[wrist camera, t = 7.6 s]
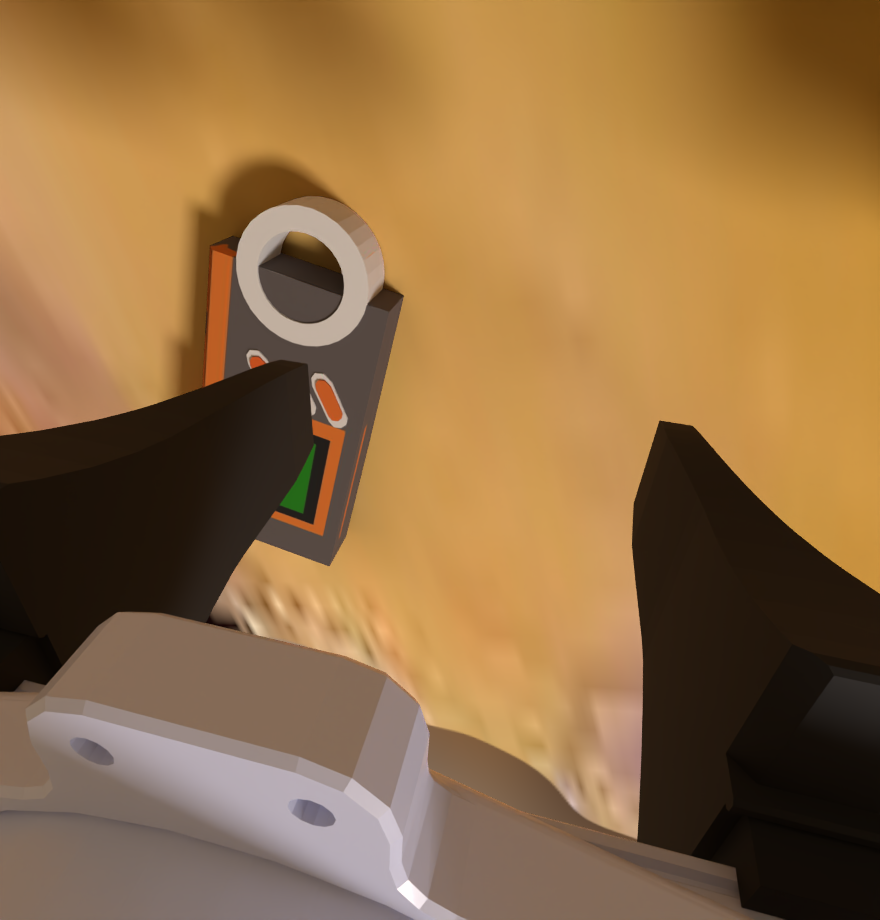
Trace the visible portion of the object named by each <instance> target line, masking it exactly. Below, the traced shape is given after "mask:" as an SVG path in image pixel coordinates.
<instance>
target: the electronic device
mask: <svg viewBox="0 0 880 920" xmlns="http://www.w3.org/2000/svg"><path fill="white" fill-rule="evenodd" d="M290 231H298V232H302V233H307V234H309V235H311V236H313V237H315V238H317V239H318V240H320V241H321V242H323V243H324V244H325V245H326V246H327V247H328V248H329V249H330V250H331V252H332V253H333V254H334V256H335V257H336V259H337V261H338V263H339V265H340V267H341V270H342V274H340V273H337V272H334V271H332V270H329V269H326V268H323V267H320V266H317V265H314V264H311V263H309V262H306V261H303V260H300V259H297V258H294V257H291V256H289V255H286V254H283V253H281V249H282V244H283V242H284V240H285V238H286V236H287V235H288V233H289V232H290ZM233 257H234V258H233ZM284 275H285V276H284ZM384 275H385V274H384V261H383V257H382V253H381V249H380V247H379V244H378V242H377V240H376V238H375V235H374V234H373V232H372V231H371V229H370V228H369V227H368V225H367V224H366V222H365V221H364V220H363V219H362V218H361V217H360V216H359V215H358V214H357V213H356V212H354V211H353V210H351V209H350V208H349V207H347V206H346V205H344V204H342V203H340V202H338V201H335V200H333V199H330V198H325V197H321V196H305V197H301V198H296V199H293V200H291V201H288V202H285V203H283V204H280V205H278V206H275V207H272V208H270V209H268V210H266V211H264V212H262V213H260V214H259V215H258V216H257V217H256V218H254V219H253V220H252V221H251V222H250V223H249V225H248V226H247V228H246V229H245V230H244V232H243V234H242V237H241V239H240V238H237V237H234V236H232V237H229V238H227V239H225V240H222V241H220V242H217V243H215V244H213V245H210V257H209V275H208V294H207V312H206V330H205V349H204V367H203V386H202V388H203V387H205V386H208V385H211V384H213V383H216V382H218V381H221V380H223V379H226V378H229V377H231V376H234V375H236V374H239V373H241V372H244V371H247V370H249V369H252V368H255V367H257V366H260V365H263V364H266V363H269V362H273V361H277V360H287V361H293V362H299V363H305V364H308V373H309V386H310V400H311V413H312V426H313V440H314V446H313V448H312V450H311V452H310V454H309V456H308V459H307V461H306V463H305V465H304V467H303V469H302V471H301V473H300V475H299V476H298V478H297V480H296V482H295V483H294V485H293V486H292V488H291V489H290V491H289V492H288V494H287V495H286V496H285V498H284V499H283V501H282V502H281V504H280V505H279V506H278V508H277V509H276V511H275V512H274V513H273V515H272V516H271V518H270V519H269V520H268V522H267V523H266V525H265V526H264V527H263V529H262V530H261V532H260V533H259V534H258V536H257V537H256V540H259V541H262V542H264V543H267V544H270V545H272V546H275V547H278V548H281V549H283V550H286V551H289V552H292V553H294V554H297V555H300V556H302V557H305V558H308V559H311V560H313V561H316V562H319V563H322V564H324V565H327V566H330V564H331V563H332V561H333V559H334V557H335V555H336V554H337V552H338V550H339V548H340V546H341V544H342V543H343V541H344V539H345V537H346V534H347V530H348V526H349V522H350V518H351V514H352V510H353V506H354V502H355V498H356V494H357V490H358V486H359V482H360V478H361V474H362V470H363V466H364V461H365V457H366V453H367V449H368V445H369V441H370V437H371V433H372V429H373V425H374V420H375V416H376V412H377V408H378V403H379V399H380V395H381V391H382V386H383V382H384V378H385V374H386V369H387V365H388V361H389V357H390V352H391V348H392V344H393V340H394V335H395V331H396V327H397V323H398V318H399V314H400V310H401V306H402V301H403V297H404V296H403V295H400V294H397V293H395V292H392V291H389V290H386V289H383V284H384ZM287 276H288V277H287ZM290 277H291V278H290ZM293 278H294V279H293ZM295 279H297V280H295ZM298 280H299V281H298ZM301 281H302V282H301ZM304 282H305V283H304ZM307 283H308V284H307ZM310 284H311V285H310ZM312 285H314V286H312ZM315 286H317V287H315ZM318 287H319V288H318ZM321 288H322V289H321ZM324 289H325V290H324ZM326 290H328V291H326ZM329 291H331V292H329ZM332 292H334V293H332ZM335 293H337V294H335ZM338 294H339V295H338ZM341 295H342V296H341Z"/></svg>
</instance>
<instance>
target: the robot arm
mask: <svg viewBox="0 0 880 920" xmlns="http://www.w3.org/2000/svg"><path fill="white" fill-rule="evenodd" d="M313 446H314V440H313V426H312V413H311V400H310V386H309V373H308V364H305V363H299V362H293V361H287V360H277V361H273V362H269V363H266V364H263V365H260V366H257V367H255V368H252V369H249V370H247V371H244V372H241V373H239V374H236V375H234V376H231V377H229V378H226V379H223V380H221V381H218V382H216V383H213V384H211V385H208V386H205V387H203V388H200V389H197V390H195V391H192V392H189V393H186V394H183V395H180V396H177V397H174V398H172V399H169V400H166V401H163V402H160V403H157V404H154V405H151V406H148V407H144V408H141V409H137V410H134V411H130V412H126V413H122V414H119V415H115V416H111V417H107V418H103V419H98V420H94V421H89V422H83V423H78V424H73V425H67V426H62V427H57V428H52V429H46V430H40V431H33V432H26V433H19V434H11V435H3V436H0V920H880V594H879V593H878V592H876V591H875V590H873V589H872V588H870V587H869V586H867V585H866V584H864V583H863V582H861V581H860V580H858V579H857V578H855V577H854V576H852V575H851V574H849V573H848V572H846V571H845V570H844V569H842V568H841V567H839V566H838V565H837V564H835V563H834V562H832V561H831V560H830V559H828V558H827V557H826V556H824V555H823V554H822V553H820V552H819V551H818V550H817V549H816V548H814V547H813V546H812V545H811V544H809V543H808V542H807V541H806V540H804V539H803V538H802V537H801V536H799V535H798V534H797V533H796V532H794V531H793V530H792V529H791V528H790V527H789V526H787V525H786V524H785V523H784V522H783V521H782V520H781V519H780V518H779V517H778V516H776V515H775V514H774V513H773V512H772V511H771V510H770V509H769V508H768V507H767V506H766V505H765V504H764V503H763V502H762V501H761V500H760V499H759V498H758V497H757V496H756V495H755V494H754V493H753V492H752V491H751V490H750V489H749V488H748V487H747V486H746V485H745V484H744V483H743V482H742V481H741V480H740V478H739V477H738V476H737V475H736V474H735V473H734V472H733V471H732V470H731V469H730V467H729V466H728V465H727V464H726V463H725V462H724V461H723V460H722V458H721V457H720V456H719V455H718V454H717V453H716V451H715V450H714V449H713V448H712V447H711V446H710V444H709V443H708V442H707V441H706V440H705V439H704V438H703V436H702V435H701V434H700V433H699V432H698V431H697V430H696V429H695V428H694V427H693V426H690V425H684V424H678V423H671V422H665V421H659V424H658V427H657V431H656V434H655V437H654V440H653V443H652V447H651V450H650V453H649V456H648V459H647V463H646V466H645V469H644V472H643V475H642V479H641V482H640V485H639V488H638V492H637V495H636V498H635V501H634V510H633V532H632V550H633V560H634V570H635V580H636V589H637V599H638V608H639V617H640V626H641V635H642V649H643V718H642V756H641V780H640V803H639V823H638V839H637V842H636V841H632V840H628V839H624V838H621V837H616V836H613V835H609V834H605V833H602V832H598V831H594V830H590V829H587V828H583V827H579V826H575V825H571V824H567V823H564V822H560V821H556V820H553V819H549V818H545V817H541V816H537V815H534V814H530V813H526V812H522V811H519V810H517V809H515V808H513V807H511V806H509V805H506V804H504V803H502V802H500V801H498V800H496V799H494V798H491V797H489V796H487V795H485V794H483V793H481V792H479V791H476V790H474V789H472V788H470V787H468V786H465V785H463V784H461V783H459V782H457V781H455V780H453V779H451V778H448V777H446V776H444V775H442V774H440V773H437V772H435V771H433V770H431V769H429V768H428V763H427V756H428V746H429V731H428V728H427V725H426V722H425V719H424V716H423V713H422V710H421V707H420V705H419V704H418V702H417V701H416V700H415V698H414V697H413V696H411V695H410V694H409V693H408V692H407V691H406V690H405V689H403V688H402V687H401V686H400V685H399V684H398V683H397V682H396V681H394V680H393V679H392V678H391V677H390V676H389V675H388V674H386V673H385V672H383V671H380V670H378V669H375V668H373V667H370V666H368V665H365V664H363V663H361V662H358V661H356V660H353V659H351V658H348V657H346V656H342V655H338V654H334V653H329V652H325V651H321V650H317V649H312V648H308V647H304V646H300V645H295V644H291V643H287V642H283V641H278V640H274V639H270V638H266V637H262V636H257V635H253V634H249V633H245V632H240V631H236V630H232V629H228V628H223V627H219V626H215V625H211V624H206V621H207V619H208V617H209V615H210V613H211V611H212V609H213V607H214V605H215V604H216V602H217V600H218V598H219V596H220V594H221V593H222V591H223V589H224V587H225V585H226V584H227V582H228V580H229V578H230V576H231V574H232V573H233V571H234V569H235V568H236V566H237V565H238V563H239V562H240V560H241V559H242V557H243V555H244V554H245V553H246V551H247V550H248V548H249V547H250V546H251V544H252V543H253V541H254V540H255V539H256V537H257V536H258V534H259V533H260V532H261V530H262V529H263V527H264V526H265V525H266V523H267V522H268V520H269V519H270V518H271V516H272V515H273V513H274V512H275V511H276V509H277V508H278V506H279V505H280V504H281V502H282V501H283V499H284V498H285V496H286V495H287V494H288V492H289V491H290V489H291V488H292V486H293V485H294V483H295V482H296V480H297V478H298V476H299V475H300V473H301V471H302V469H303V467H304V465H305V463H306V461H307V459H308V456H309V454H310V452H311V450H312V448H313Z"/></svg>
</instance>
